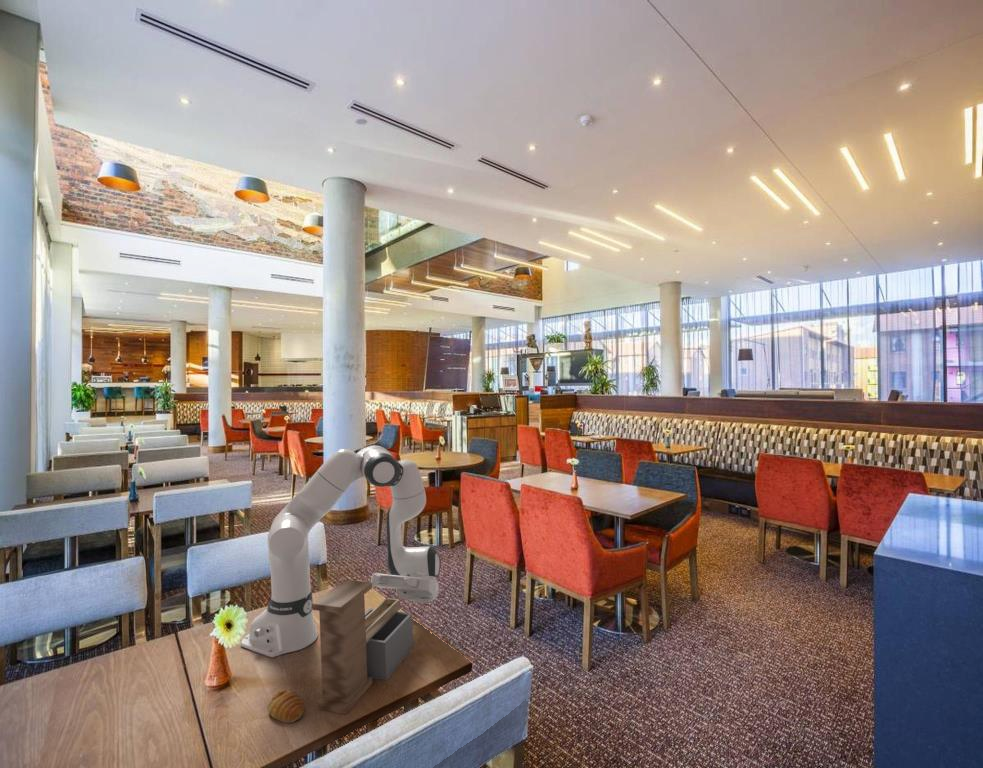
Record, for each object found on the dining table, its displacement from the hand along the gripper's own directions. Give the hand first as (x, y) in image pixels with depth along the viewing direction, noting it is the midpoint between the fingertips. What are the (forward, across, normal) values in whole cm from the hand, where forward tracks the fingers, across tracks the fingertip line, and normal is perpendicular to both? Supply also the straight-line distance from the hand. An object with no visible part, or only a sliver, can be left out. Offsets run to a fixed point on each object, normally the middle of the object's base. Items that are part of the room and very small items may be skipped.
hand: (391, 579), depth 145 cm
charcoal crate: (-2, 0, +21) cm, 21 cm away
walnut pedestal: (+12, 0, +29) cm, 31 cm away
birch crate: (+3, 0, +12) cm, 13 cm away
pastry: (+19, -11, +34) cm, 40 cm away
